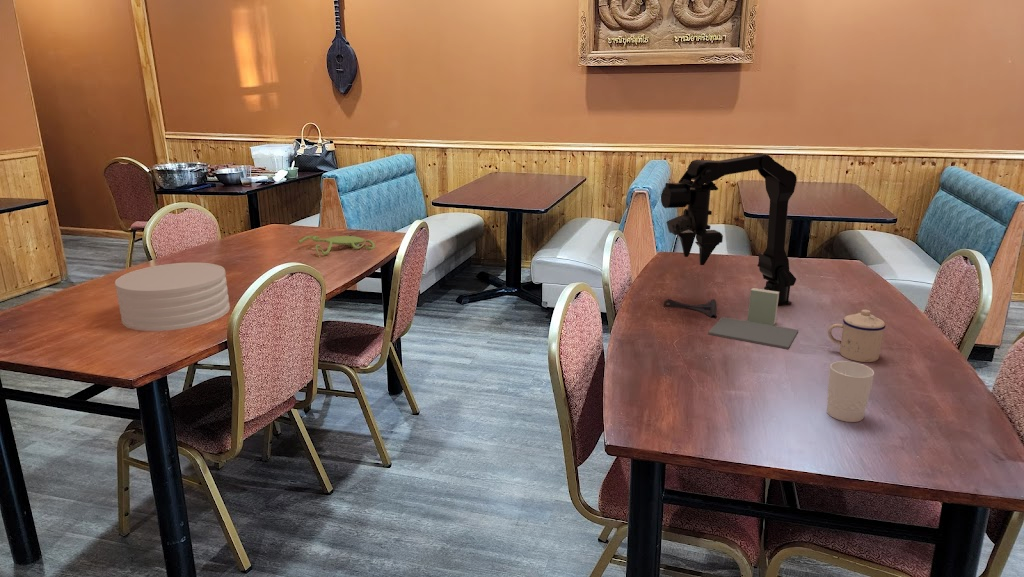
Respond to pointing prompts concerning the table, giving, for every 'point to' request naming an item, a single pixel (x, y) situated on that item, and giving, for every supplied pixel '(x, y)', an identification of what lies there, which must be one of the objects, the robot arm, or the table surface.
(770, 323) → the tile
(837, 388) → the white cup
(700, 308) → the bracket
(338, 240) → the figurine
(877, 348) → the teacup with lid
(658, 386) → the table surface
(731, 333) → the mat
